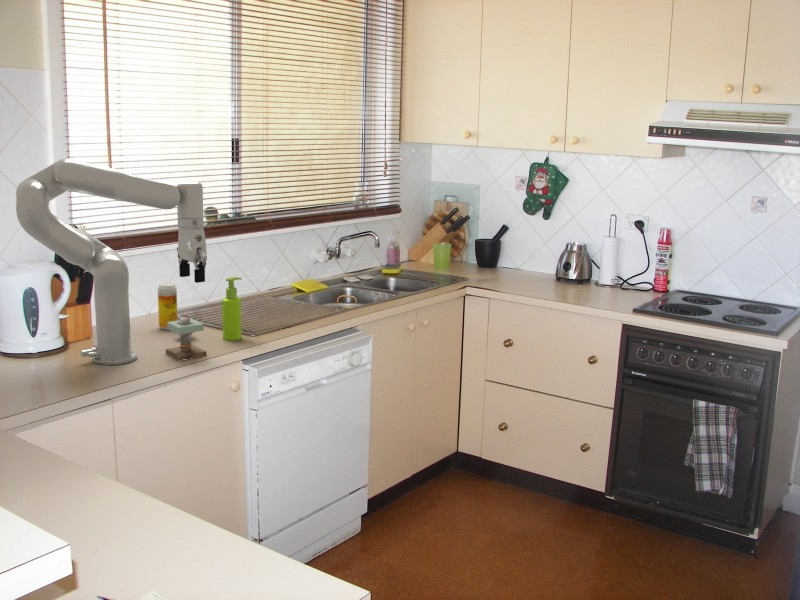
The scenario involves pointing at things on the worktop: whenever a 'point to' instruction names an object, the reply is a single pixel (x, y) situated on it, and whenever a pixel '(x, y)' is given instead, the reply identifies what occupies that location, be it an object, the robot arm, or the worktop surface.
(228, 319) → the soap dispenser
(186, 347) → the post stand
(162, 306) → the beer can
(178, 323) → the collar
